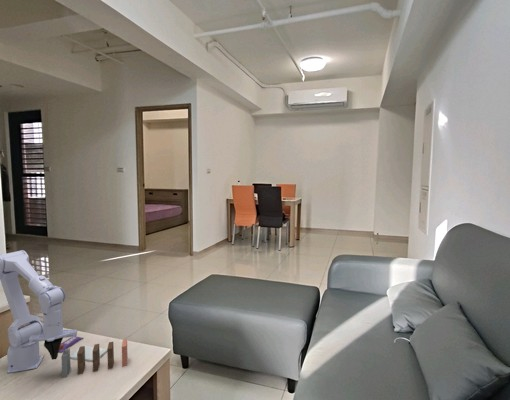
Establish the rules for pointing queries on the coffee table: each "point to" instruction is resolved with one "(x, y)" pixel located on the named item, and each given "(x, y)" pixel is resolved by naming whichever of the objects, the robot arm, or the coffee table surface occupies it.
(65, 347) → the snack package
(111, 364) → the domino
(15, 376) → the coffee table surface
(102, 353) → the hard drive
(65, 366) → the domino
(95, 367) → the domino
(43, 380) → the coffee table surface
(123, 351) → the domino
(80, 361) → the domino
